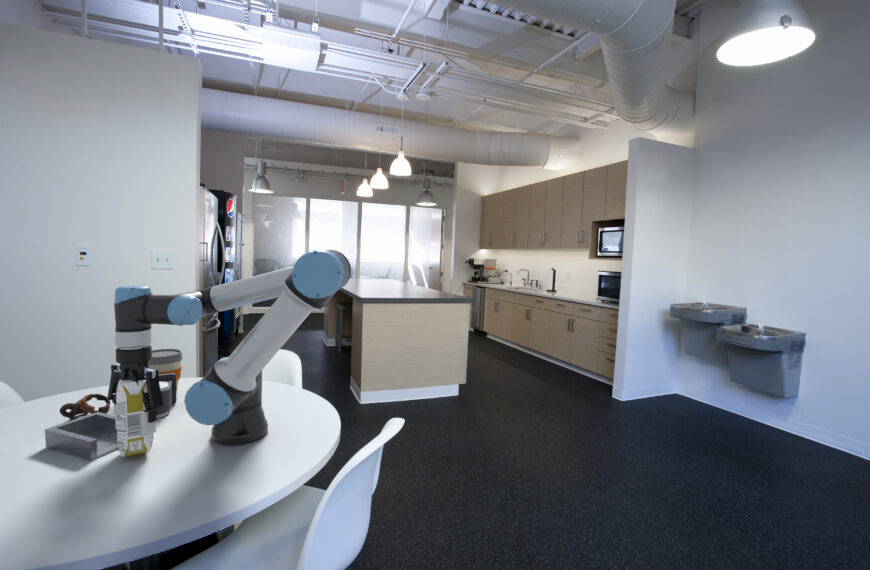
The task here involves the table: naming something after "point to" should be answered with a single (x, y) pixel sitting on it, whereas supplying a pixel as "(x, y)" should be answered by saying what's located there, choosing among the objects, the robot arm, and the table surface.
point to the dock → (84, 436)
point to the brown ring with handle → (84, 406)
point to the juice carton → (131, 418)
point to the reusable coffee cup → (167, 362)
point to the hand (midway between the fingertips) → (135, 430)
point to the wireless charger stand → (167, 392)
